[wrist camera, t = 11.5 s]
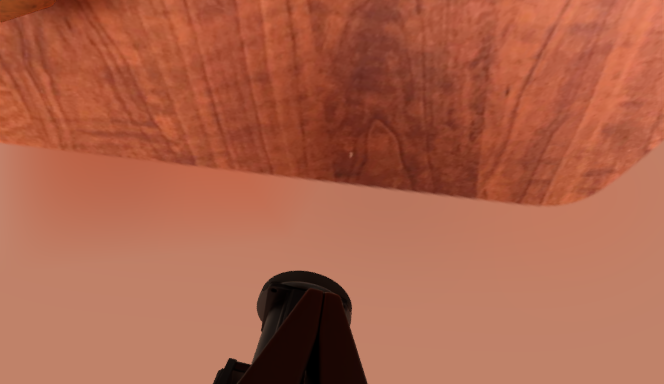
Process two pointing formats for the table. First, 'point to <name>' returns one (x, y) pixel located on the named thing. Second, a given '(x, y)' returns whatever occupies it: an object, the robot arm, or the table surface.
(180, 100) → the table surface
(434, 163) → the table surface
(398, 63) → the table surface
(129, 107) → the table surface
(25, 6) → the potato
